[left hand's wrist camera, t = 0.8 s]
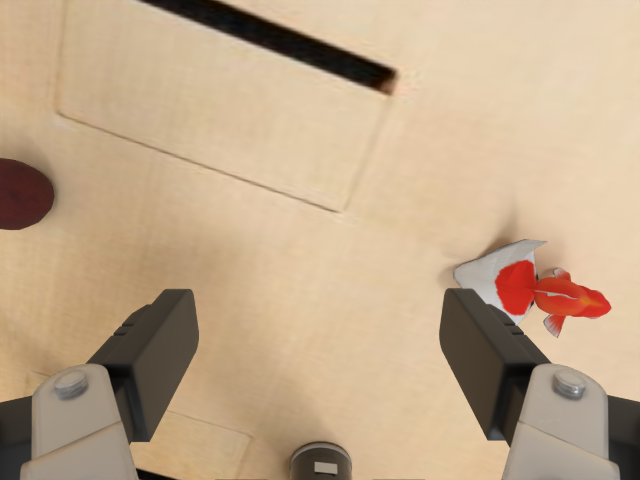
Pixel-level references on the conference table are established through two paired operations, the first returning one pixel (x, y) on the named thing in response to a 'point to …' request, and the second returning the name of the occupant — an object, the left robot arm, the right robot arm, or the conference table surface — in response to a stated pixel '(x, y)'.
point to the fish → (528, 286)
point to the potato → (22, 195)
